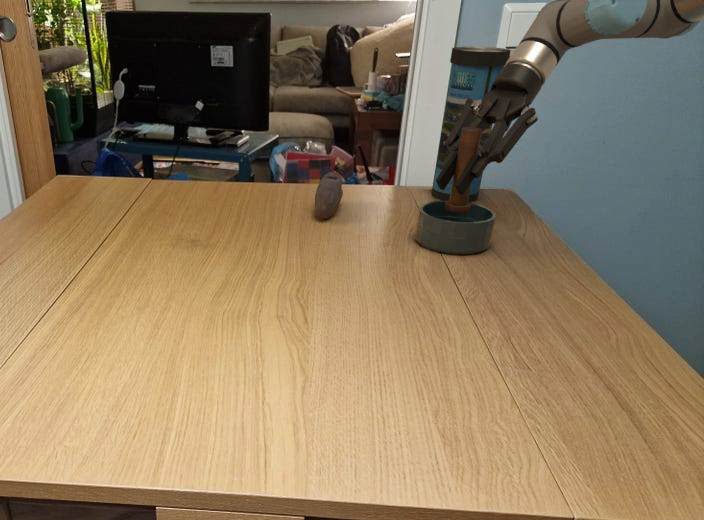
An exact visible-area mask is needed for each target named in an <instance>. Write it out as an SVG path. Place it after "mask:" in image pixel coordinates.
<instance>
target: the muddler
mask: <svg viewBox="0 0 704 520" xmlns="http://www.w3.org/2000/svg"><path fill="white" fill-rule="evenodd" d="M481 132H482V129H481V128H477V127H463V128H462V132H461V138H460V144H459V149H458V155H457V160H456V166H455V172H454V177H453V183H452V188H451V194H450V199H449V200H447V201H446V202H445V209H446V210H447V211H450V212H455V213H466V212H469V211H470V208H471V203H472V202H468V199H469V194H470V189H471V184H472V182H471V184H470V185H469V187H468V188H467V190H466V191H465V193H464V194H463V195H460V194H459V193H458V191H457V189H456V187H455V184H456V182H457V181H458V179H459V178H460V176H461V175H462V173H463V172H464V170H465V169H466V167H467V166H468V164H469V163H470V161H471V160H472V158H473V157H474V155H475V154H477V153H478V148H479V143H480V137H481Z"/></svg>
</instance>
